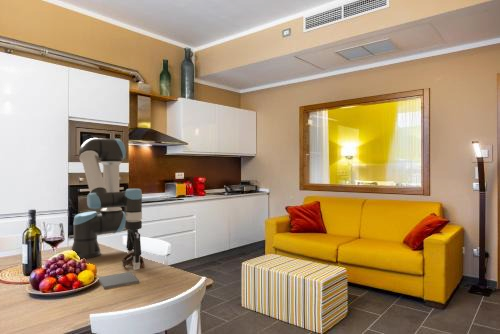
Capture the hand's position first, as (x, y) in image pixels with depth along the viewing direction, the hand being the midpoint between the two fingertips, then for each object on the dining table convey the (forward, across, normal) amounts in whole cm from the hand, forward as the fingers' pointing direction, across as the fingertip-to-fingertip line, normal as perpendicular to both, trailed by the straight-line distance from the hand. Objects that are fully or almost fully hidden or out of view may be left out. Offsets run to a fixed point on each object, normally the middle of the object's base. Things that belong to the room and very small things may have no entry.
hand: (133, 266), depth 169 cm
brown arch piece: (+1, 0, 0) cm, 1 cm away
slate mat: (0, +17, -11) cm, 20 cm away
